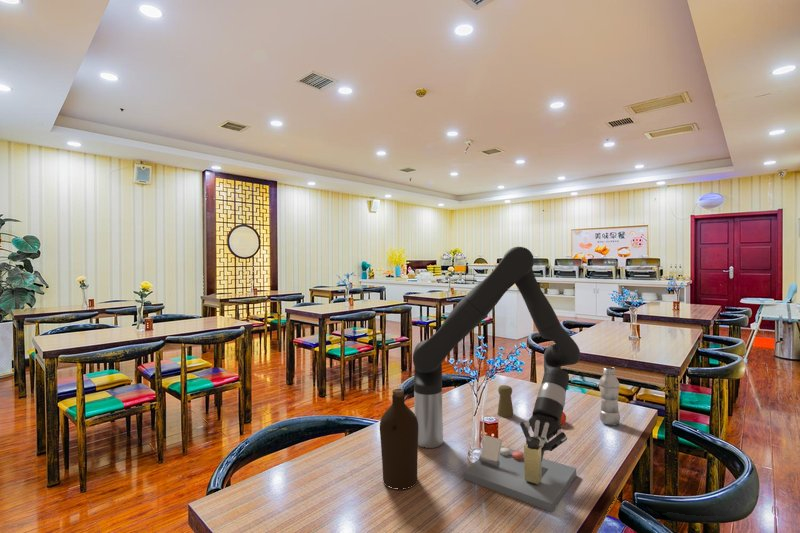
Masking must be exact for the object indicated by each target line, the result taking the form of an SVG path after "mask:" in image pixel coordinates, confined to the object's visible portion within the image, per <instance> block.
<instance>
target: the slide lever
mask: <svg viewBox="0 0 800 533" xmlns="http://www.w3.org/2000/svg"><path fill="white" fill-rule="evenodd" d="M525 442H526V443H525V445H524V447H523V450H524V451H523V453H524V469H525V480H526V481H529V482H532V483H535V484H538V485H539V483H540V482H541V481H542V468H541V446H539V439H538V438H536V437H533V436H531V437H527V438H526V437H525Z"/></svg>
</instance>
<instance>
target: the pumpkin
mask: <svg viewBox="0 0 800 533" xmlns="http://www.w3.org/2000/svg"><path fill="white" fill-rule="evenodd" d="M566 421H567V416H566V413H565V412H564V411H563V413H562V417H561V422H560V425H561V424H564V423H565V422H566Z"/></svg>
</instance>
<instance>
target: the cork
mask: <svg viewBox="0 0 800 533" xmlns="http://www.w3.org/2000/svg"><path fill="white" fill-rule="evenodd" d="M497 392H498V394H499V399H498V406H497V407H498V408H497V416H499V417H500V418H507V419H509V418H513V417H514V415H515V413H514V408H513V401H512V394H513V388H512V387H511V386H510V385H507V384H503V385H500V386H498V389H497Z"/></svg>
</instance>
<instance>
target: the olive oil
mask: <svg viewBox="0 0 800 533" xmlns="http://www.w3.org/2000/svg"><path fill="white" fill-rule="evenodd" d="M391 393H392V394H391V401H392V403H391V405H390V406H389V407H388V408H387V410H385V412H384V413H383V414H382V415H381V418H380V422H379V435H380V436H379V437H380V447H381V449H380V450H381V451H380V452H381V463H382V468H381V469H382V481H384V482H383V484H384V483H385V484H386V485H387V486H390V487H392V488H398V489H403V488H408V487H411V486H413V485H414V484H415V485H416V484H417V483H416V482H418V459H419V458H418V455H419V454H418V450H419V448H418V447H419V446H418V421H417V418H416V416H415V414H414V413H415V412H414V411H412V410H411V409H410V407H409V406H407V405H406V403H405V401H406V400H405V390H404V389H402V388H394V389H393V390H392V392H391ZM385 484H384V485H385ZM386 485H385V486H386ZM415 485H414V486H415ZM387 486H386V487H387ZM414 486H413V487H414ZM411 488H412V487H411Z"/></svg>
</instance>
